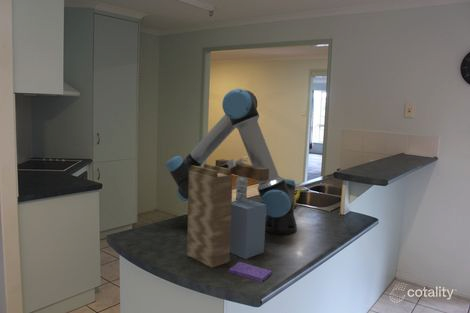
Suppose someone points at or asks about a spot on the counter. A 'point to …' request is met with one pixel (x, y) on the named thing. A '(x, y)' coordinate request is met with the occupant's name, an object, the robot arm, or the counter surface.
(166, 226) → the counter surface
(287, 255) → the counter surface
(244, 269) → the sponges
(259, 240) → the blue step
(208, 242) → the oak post
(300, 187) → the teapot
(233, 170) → the walnut bar
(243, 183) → the plastic bottle
